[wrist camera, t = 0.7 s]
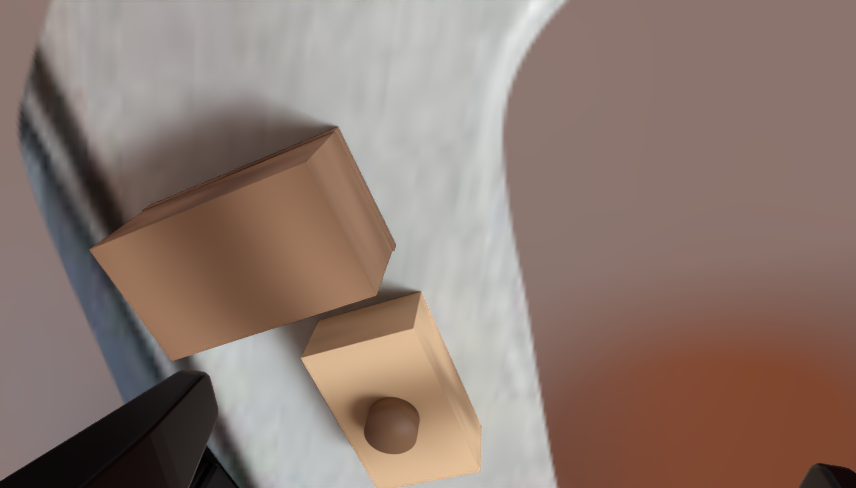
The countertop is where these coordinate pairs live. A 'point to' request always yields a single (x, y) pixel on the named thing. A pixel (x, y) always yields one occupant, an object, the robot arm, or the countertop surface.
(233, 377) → the countertop surface
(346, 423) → the oak lid
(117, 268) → the walnut box
